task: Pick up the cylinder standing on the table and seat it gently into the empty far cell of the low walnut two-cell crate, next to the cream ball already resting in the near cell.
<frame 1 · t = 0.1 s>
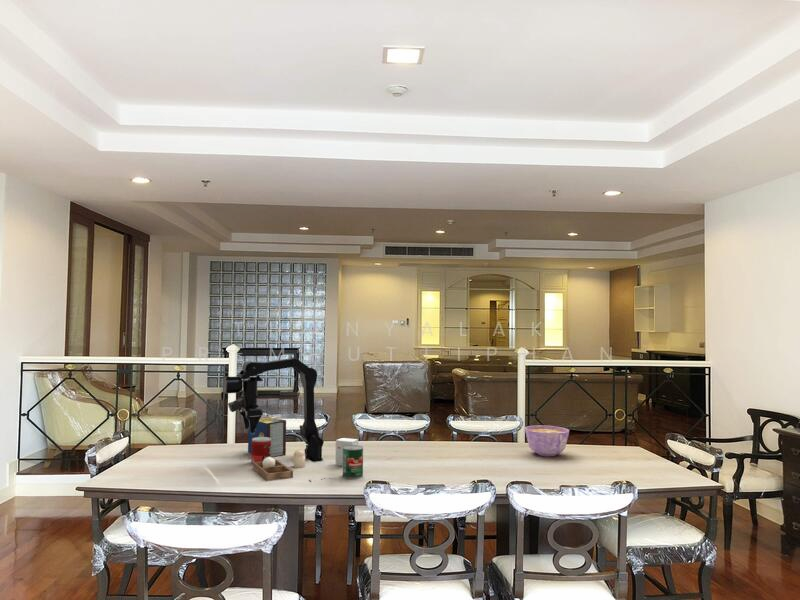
hand: (249, 430, 227), 15 cm above the table, fingers open, 9 cm apart
cylinder: (299, 469, 224), on the table
crate: (272, 475, 213), on the table
canned food: (260, 466, 229), on the table
ball: (268, 469, 217), point 1 cm above the table, touching crate
protein box: (266, 454, 250), on the table
small box: (346, 465, 232), on the table
canned tomato: (352, 476, 214), on the table
bowl of food: (546, 454, 255), on the table
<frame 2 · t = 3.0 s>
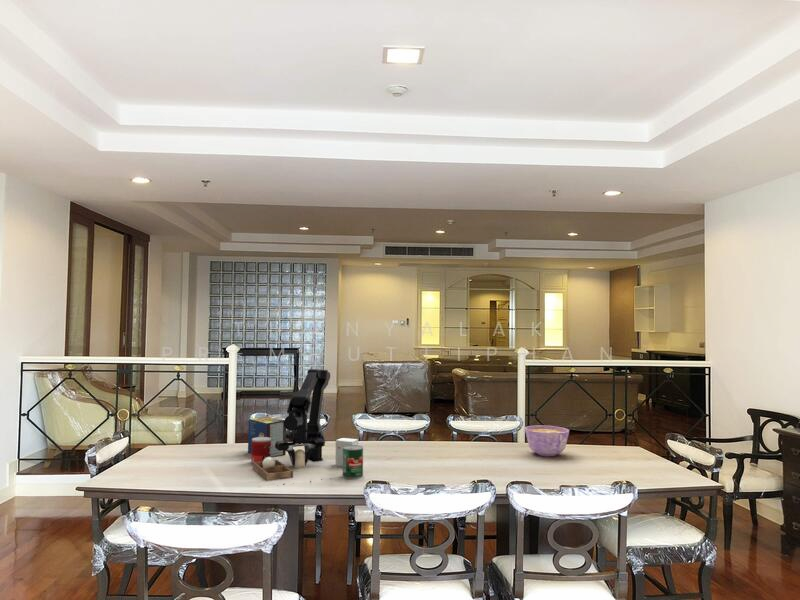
hand: (299, 465, 224), 2 cm above the table, fingers closed on cylinder, 5 cm apart
cylinder: (299, 469, 224), on the table, touching gripper
everything else where it was.
when the fingers open (4 cm above the table, at t = 7.2 s): cylinder drops 1 cm, resting on crate.
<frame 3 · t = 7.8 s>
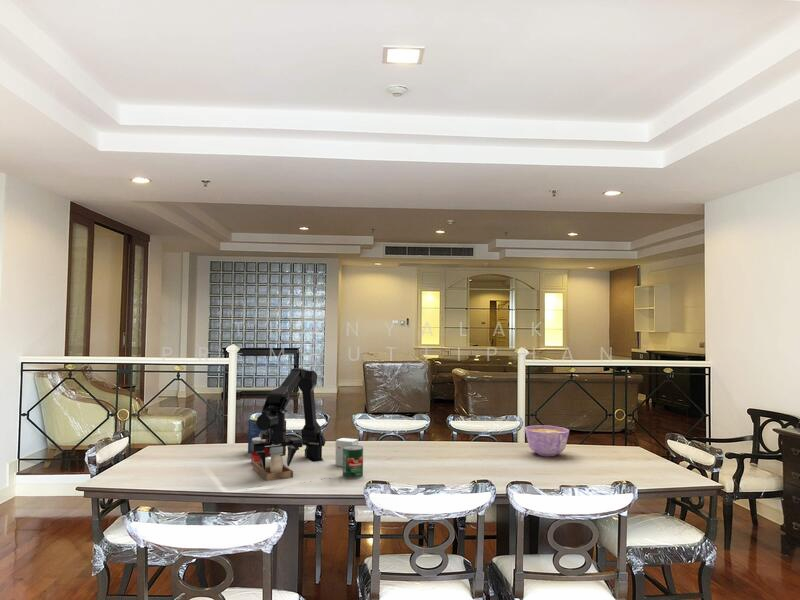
hand: (276, 467, 209), 4 cm above the table, fingers open, 9 cm apart
cylinder: (276, 475, 209), point 1 cm above the table, touching crate
everything else where it was.
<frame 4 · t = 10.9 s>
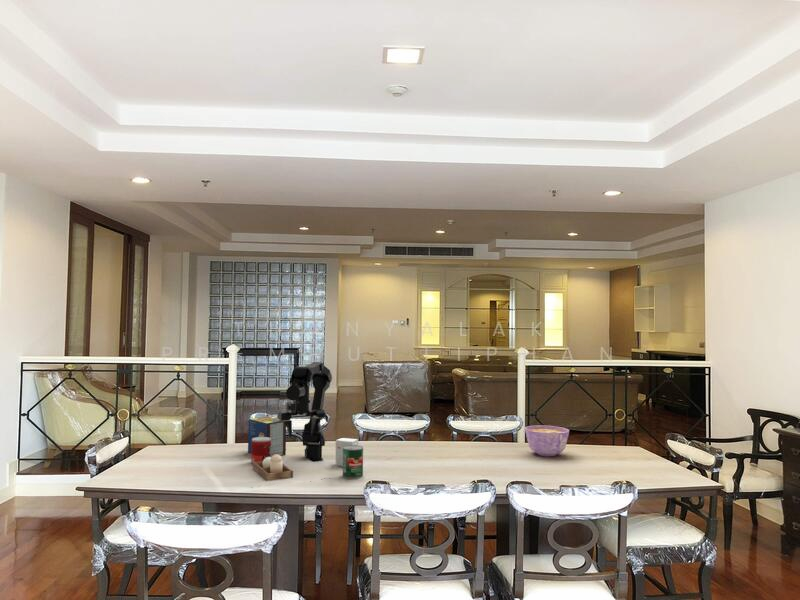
hand: (301, 436, 226), 13 cm above the table, fingers open, 9 cm apart
nothing on the table moved.
at the end: cylinder inside the target area on the crate (0.2 cm from its centre), point 1.2 cm above the crate's base; cylinder tilted 0°; the gripper is holding nothing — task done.
